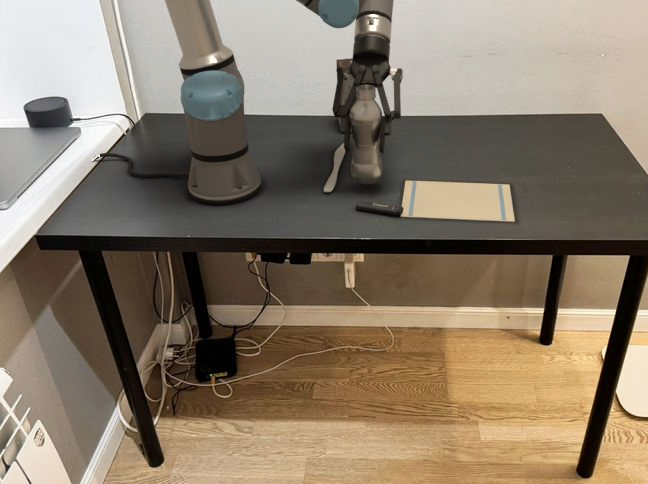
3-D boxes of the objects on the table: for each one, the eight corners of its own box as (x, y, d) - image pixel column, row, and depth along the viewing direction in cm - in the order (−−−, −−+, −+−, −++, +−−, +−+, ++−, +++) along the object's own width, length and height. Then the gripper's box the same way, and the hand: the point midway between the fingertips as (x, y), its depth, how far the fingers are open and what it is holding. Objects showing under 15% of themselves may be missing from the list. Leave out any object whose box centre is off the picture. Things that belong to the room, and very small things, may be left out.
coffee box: (366, 131, 164) (365, 68, 155) (340, 133, 163) (338, 69, 154) (362, 118, 171) (360, 57, 162) (337, 120, 171) (335, 58, 162)
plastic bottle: (379, 189, 133) (380, 94, 122) (347, 186, 135) (345, 92, 123) (384, 175, 139) (386, 83, 128) (354, 173, 140) (352, 81, 129)
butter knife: (318, 190, 135) (332, 190, 135) (339, 141, 158) (351, 141, 157) (318, 193, 136) (332, 193, 135) (339, 144, 158) (351, 143, 158)
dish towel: (400, 217, 127) (400, 216, 127) (405, 181, 140) (405, 180, 140) (514, 222, 124) (514, 221, 124) (509, 185, 137) (509, 184, 137)
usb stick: (354, 210, 129) (354, 203, 128) (359, 204, 131) (359, 197, 130) (399, 217, 126) (399, 210, 125) (404, 211, 128) (404, 204, 127)
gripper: (323, 33, 131) (312, 140, 126) (418, 34, 128) (411, 143, 124) (328, 52, 138) (319, 154, 134) (419, 53, 136) (412, 158, 131)
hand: (363, 149), depth 129 cm, fingers closed on plastic bottle, 6 cm apart
